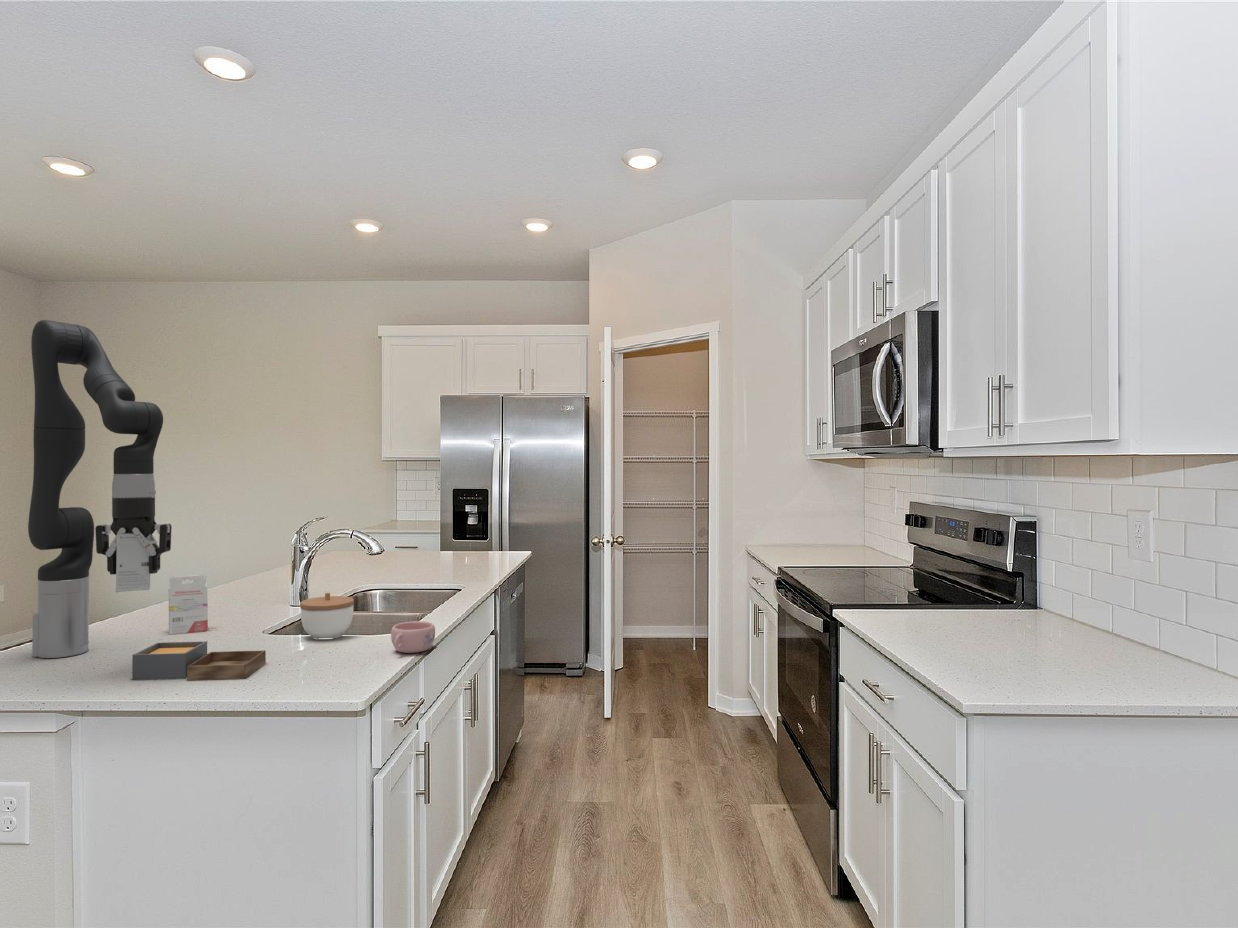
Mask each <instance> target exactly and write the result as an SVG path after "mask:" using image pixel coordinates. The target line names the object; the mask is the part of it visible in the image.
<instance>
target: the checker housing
mask: <svg viewBox="0 0 1238 928" xmlns="http://www.w3.org/2000/svg"><path fill="white" fill-rule="evenodd" d="M184 647H194V648H192V649H191V650H189V651H187V652H185V653H167V654H149V653H151V652H153V651H155V650H157V649H159V648H184ZM207 654H208V640H207V641H173V642H171V641H170V642H169V641H168V642H165V641H164V642H156V643H154V644H152V645H150V646H148V647H145V648H144V649H142V650H140V651H138V652H136V653H134V654H132V655H131V656H132V657H131V658H132V660H131V662H132V663H131V664H132V665H131V667H132V670H131V671H132V672H131V675H132V677H131V680H132V681H141V680H142V681H143V680H169V679H170V680H171V679H187V666H188V665H190V664H192V663H193V662H195V661H197V660H198V659H200V658H202V657H203V656H205V655H207Z"/></svg>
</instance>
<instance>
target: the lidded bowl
mask: <svg viewBox="0 0 1238 928" xmlns="http://www.w3.org/2000/svg"><path fill="white" fill-rule="evenodd" d="M354 604H355V599H354V598H353V597H350V596H342V595H341V596H340V595H331V593H330V592H325V593H324V596H319V597H312V598H306V599H304V600H301V602H300V605H299V606H300V620H301V625H302V627H303V629H304V631H305V632H306V633H307V634H308V635H309V636H311V639H312V638H317V639H314V640H317V641H328V640H331V639H319V638H336V639H339V638H342V637H343V634H345V632H347V630H349V628H350V626H351V625H352V624H351V623H352V620H353V616H354ZM338 637H339V638H338Z"/></svg>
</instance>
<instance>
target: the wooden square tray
mask: <svg viewBox="0 0 1238 928" xmlns="http://www.w3.org/2000/svg"><path fill="white" fill-rule="evenodd" d="M266 655H267V653H266V649H265V650H236V651H235V650H233V651H231V650H229V651H210V652H207V655H205V656H203V657H202V658H200V659H198V660H197V661H195V662H193V663H192V664H190V665H188V666H187V678H186V681H210V680H212V681H215V680H238V679H239V680H240V679H242V680H243V679H247V678H249V677H250V676H251V675H253V673H255V672H257V670H258V669H259V670H260V668H262V666H264V665H265V664H266V662H267V661H266V660H267V659H266Z"/></svg>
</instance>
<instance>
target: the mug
mask: <svg viewBox="0 0 1238 928" xmlns="http://www.w3.org/2000/svg"><path fill="white" fill-rule="evenodd" d="M435 638H436V627H435V624H433V623H432V622H429V621H417V620H413V621H405V622H400V623H395V624H394V625H393V626H392V628H391V631H390V639H391V643H392V646H393V647H394V649H395V650H396V651H397V652H399V653H404V654H416V653H421V652H424V651H427V650H430V648H431V647H432V646H433V644H434V642H435Z"/></svg>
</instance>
